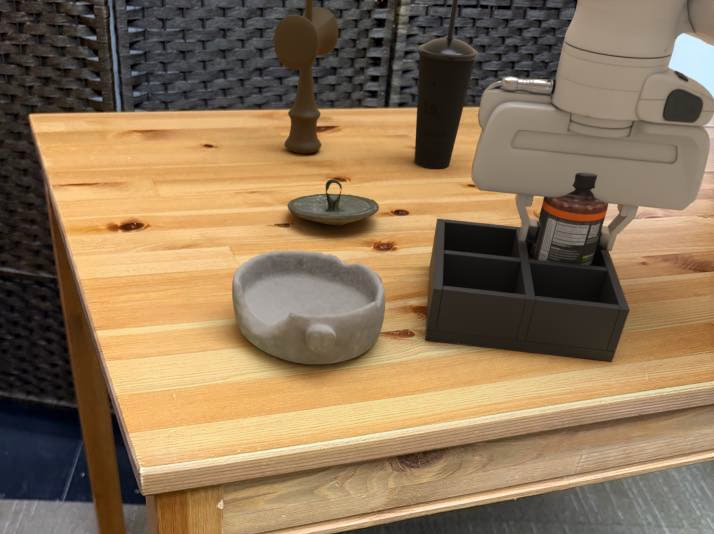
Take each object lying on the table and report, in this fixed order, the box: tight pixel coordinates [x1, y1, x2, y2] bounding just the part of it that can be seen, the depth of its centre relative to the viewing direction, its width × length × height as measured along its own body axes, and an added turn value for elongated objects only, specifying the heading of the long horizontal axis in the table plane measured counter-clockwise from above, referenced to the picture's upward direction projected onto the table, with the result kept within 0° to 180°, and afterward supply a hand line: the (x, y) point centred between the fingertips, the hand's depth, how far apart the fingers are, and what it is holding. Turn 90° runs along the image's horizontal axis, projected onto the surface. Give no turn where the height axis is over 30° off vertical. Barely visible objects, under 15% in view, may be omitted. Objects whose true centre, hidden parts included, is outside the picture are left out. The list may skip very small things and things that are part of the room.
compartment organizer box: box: [424, 218, 630, 362], centre depth 78 cm, size 17×17×5 cm
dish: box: [231, 250, 386, 365], centre depth 72 cm, size 14×14×5 cm
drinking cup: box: [414, 0, 479, 170], centre depth 105 cm, size 8×8×20 cm
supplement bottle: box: [530, 173, 609, 266], centre depth 78 cm, size 6×6×11 cm
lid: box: [286, 178, 380, 227], centre depth 93 cm, size 11×10×5 cm
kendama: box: [273, 0, 340, 154], centre depth 107 cm, size 6×10×20 cm, turn 160°
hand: (564, 244), depth 79 cm, fingers closed on supplement bottle, 6 cm apart
